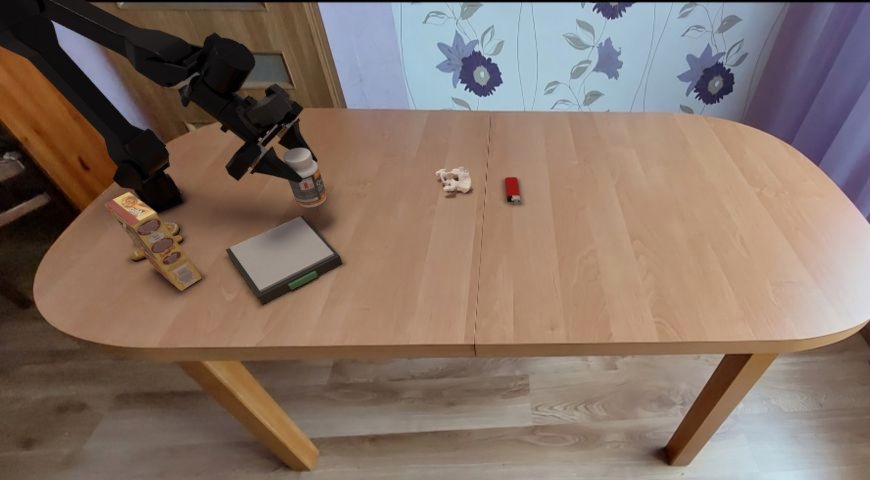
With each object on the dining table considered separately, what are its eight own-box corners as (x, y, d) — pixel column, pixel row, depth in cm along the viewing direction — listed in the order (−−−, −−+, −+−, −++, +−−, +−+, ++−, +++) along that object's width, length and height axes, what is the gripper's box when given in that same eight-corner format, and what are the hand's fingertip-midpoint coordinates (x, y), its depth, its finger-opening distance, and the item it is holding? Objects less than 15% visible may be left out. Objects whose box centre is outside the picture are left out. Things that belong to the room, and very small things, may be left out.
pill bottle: (331, 203, 89) (317, 158, 82) (300, 212, 87) (283, 167, 80) (323, 187, 92) (309, 142, 85) (293, 195, 90) (276, 150, 83)
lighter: (517, 177, 103) (520, 199, 98) (517, 181, 104) (520, 204, 99) (505, 177, 103) (507, 199, 98) (504, 181, 104) (507, 204, 99)
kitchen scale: (263, 306, 79) (258, 296, 77) (229, 257, 86) (223, 247, 85) (343, 265, 86) (340, 255, 84) (305, 223, 93) (301, 213, 91)
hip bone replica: (433, 164, 102) (462, 156, 103) (436, 180, 105) (464, 172, 106) (443, 184, 96) (473, 176, 98) (446, 200, 100) (475, 192, 101)
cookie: (122, 258, 84) (146, 221, 91) (125, 261, 85) (148, 225, 92) (169, 256, 85) (189, 220, 92) (172, 259, 86) (192, 223, 92)
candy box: (203, 278, 83) (158, 211, 71) (180, 292, 80) (130, 225, 69) (176, 257, 86) (129, 190, 75) (153, 270, 84) (101, 203, 73)
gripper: (213, 105, 66) (307, 179, 74) (276, 53, 79) (352, 120, 86) (187, 147, 73) (276, 211, 80) (250, 93, 85) (322, 152, 93)
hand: (309, 171), depth 85 cm, fingers closed on pill bottle, 6 cm apart
